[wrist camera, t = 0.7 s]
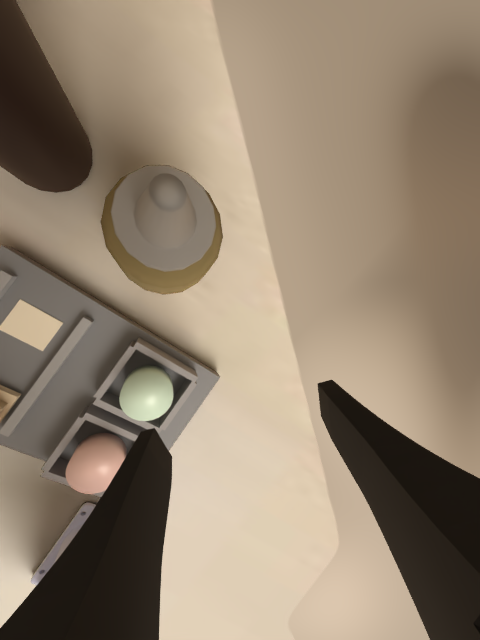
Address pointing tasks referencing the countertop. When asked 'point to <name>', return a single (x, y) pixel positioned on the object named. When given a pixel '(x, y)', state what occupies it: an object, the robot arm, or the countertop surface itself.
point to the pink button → (95, 463)
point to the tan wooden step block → (7, 400)
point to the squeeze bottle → (161, 228)
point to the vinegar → (36, 113)
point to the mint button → (146, 393)
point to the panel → (79, 367)
